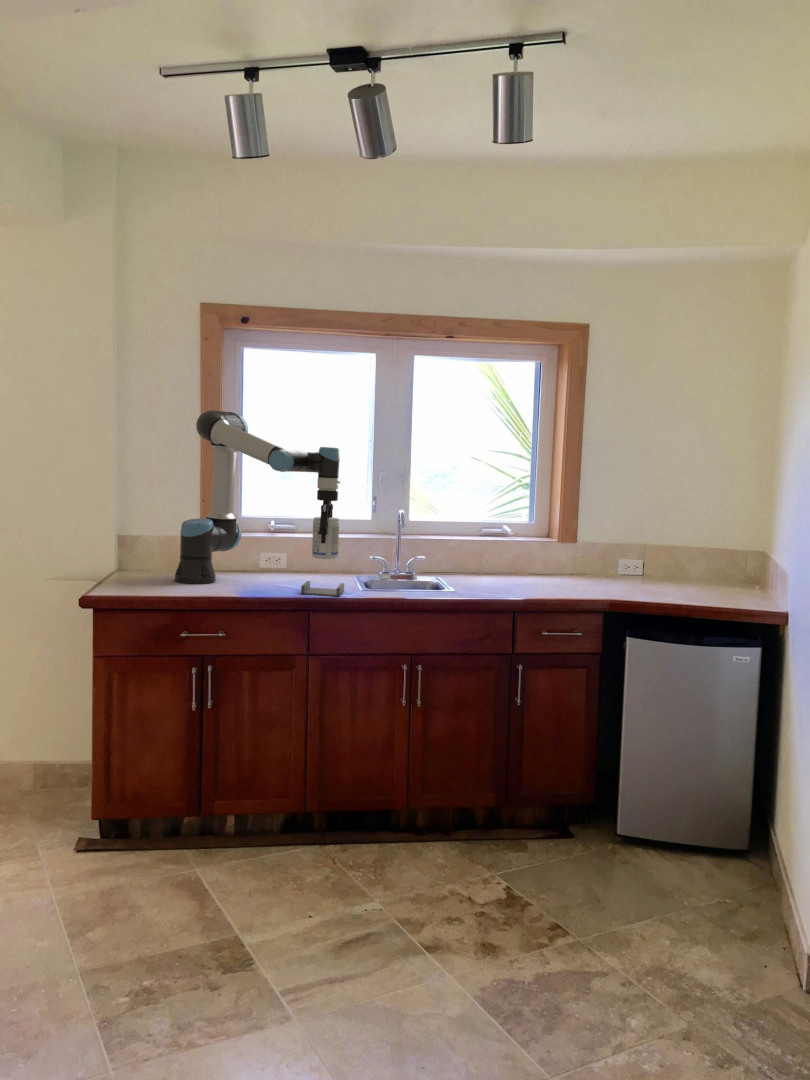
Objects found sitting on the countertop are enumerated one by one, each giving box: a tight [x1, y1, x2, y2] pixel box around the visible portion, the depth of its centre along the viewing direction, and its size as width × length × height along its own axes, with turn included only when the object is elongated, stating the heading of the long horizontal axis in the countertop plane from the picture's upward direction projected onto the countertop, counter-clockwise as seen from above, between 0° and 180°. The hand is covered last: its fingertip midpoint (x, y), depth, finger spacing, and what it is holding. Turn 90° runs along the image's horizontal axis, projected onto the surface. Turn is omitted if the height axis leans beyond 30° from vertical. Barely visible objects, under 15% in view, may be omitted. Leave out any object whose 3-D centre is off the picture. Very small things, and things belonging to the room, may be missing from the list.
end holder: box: [300, 580, 345, 598], centre depth 330 cm, size 14×13×3 cm
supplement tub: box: [311, 516, 340, 560], centre depth 329 cm, size 10×10×15 cm
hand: (325, 550), depth 329 cm, fingers closed on supplement tub, 9 cm apart
